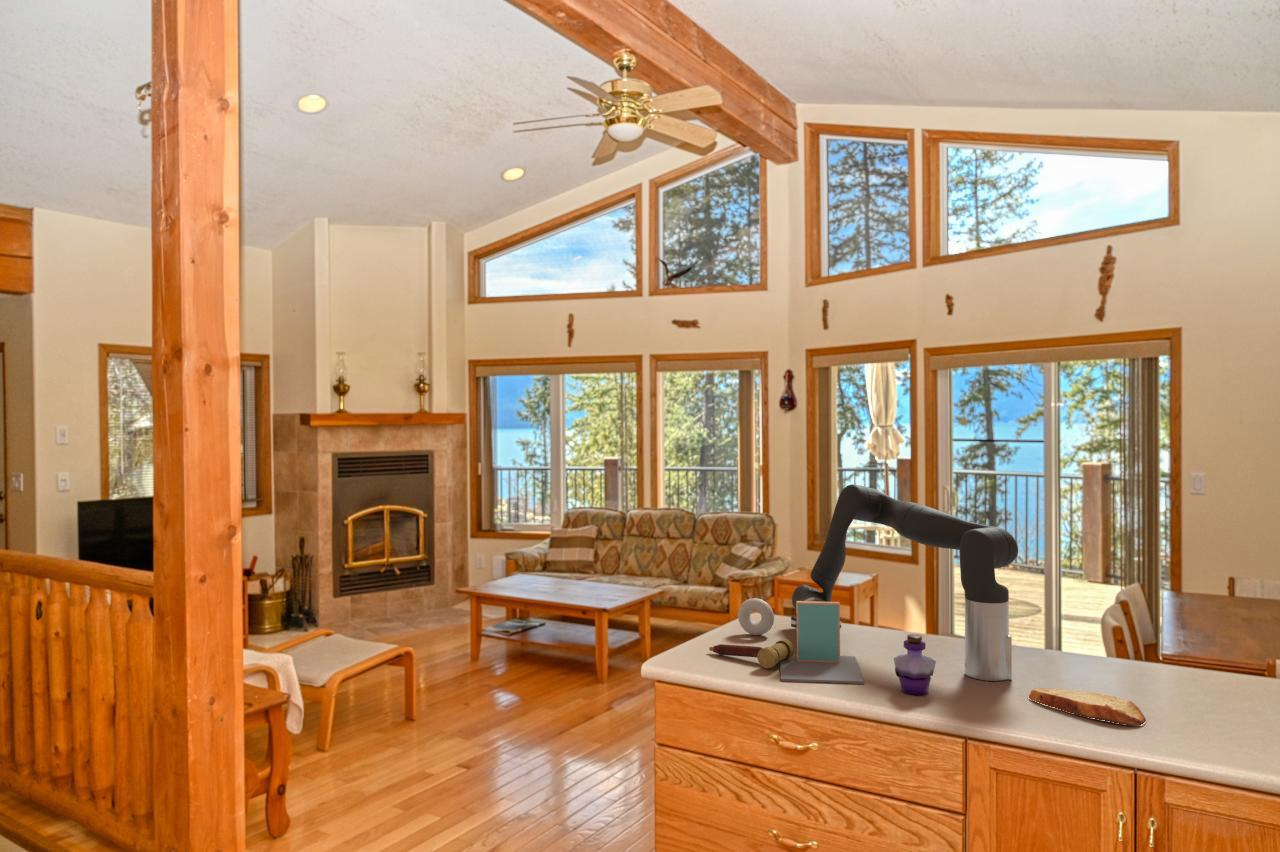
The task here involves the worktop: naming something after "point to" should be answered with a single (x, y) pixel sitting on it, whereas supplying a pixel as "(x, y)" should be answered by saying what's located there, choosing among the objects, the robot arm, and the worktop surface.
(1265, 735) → the worktop surface
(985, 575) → the robot arm
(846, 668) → the mat
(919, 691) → the potion bottle
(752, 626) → the donut
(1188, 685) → the worktop surface
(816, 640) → the tile
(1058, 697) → the slice of bread
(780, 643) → the gavel
